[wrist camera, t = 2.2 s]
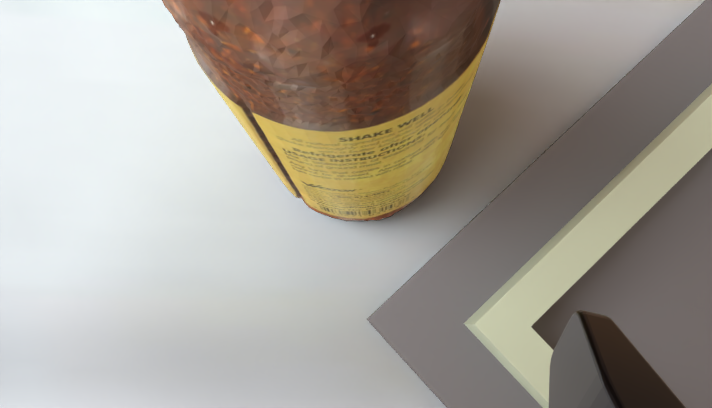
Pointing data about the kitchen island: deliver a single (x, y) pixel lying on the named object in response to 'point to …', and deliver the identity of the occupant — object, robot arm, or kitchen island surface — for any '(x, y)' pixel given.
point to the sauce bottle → (344, 89)
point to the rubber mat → (609, 274)
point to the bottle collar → (586, 247)
